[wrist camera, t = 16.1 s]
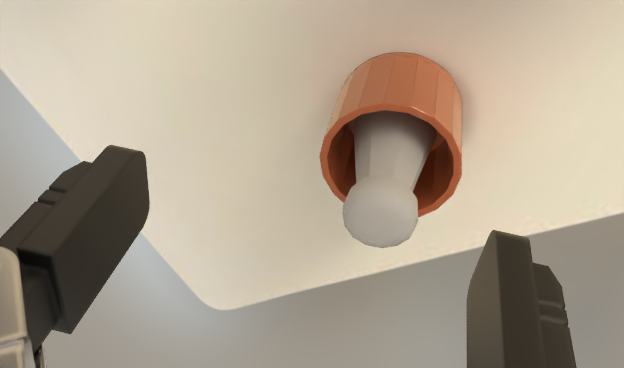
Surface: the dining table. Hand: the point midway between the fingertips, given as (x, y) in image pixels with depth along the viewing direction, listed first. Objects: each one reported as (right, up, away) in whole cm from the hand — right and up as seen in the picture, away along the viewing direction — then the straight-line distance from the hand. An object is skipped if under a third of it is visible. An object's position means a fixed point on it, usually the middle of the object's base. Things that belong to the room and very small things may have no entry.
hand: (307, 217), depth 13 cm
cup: (+7, +6, +29) cm, 31 cm away
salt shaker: (+6, +6, +29) cm, 30 cm away
